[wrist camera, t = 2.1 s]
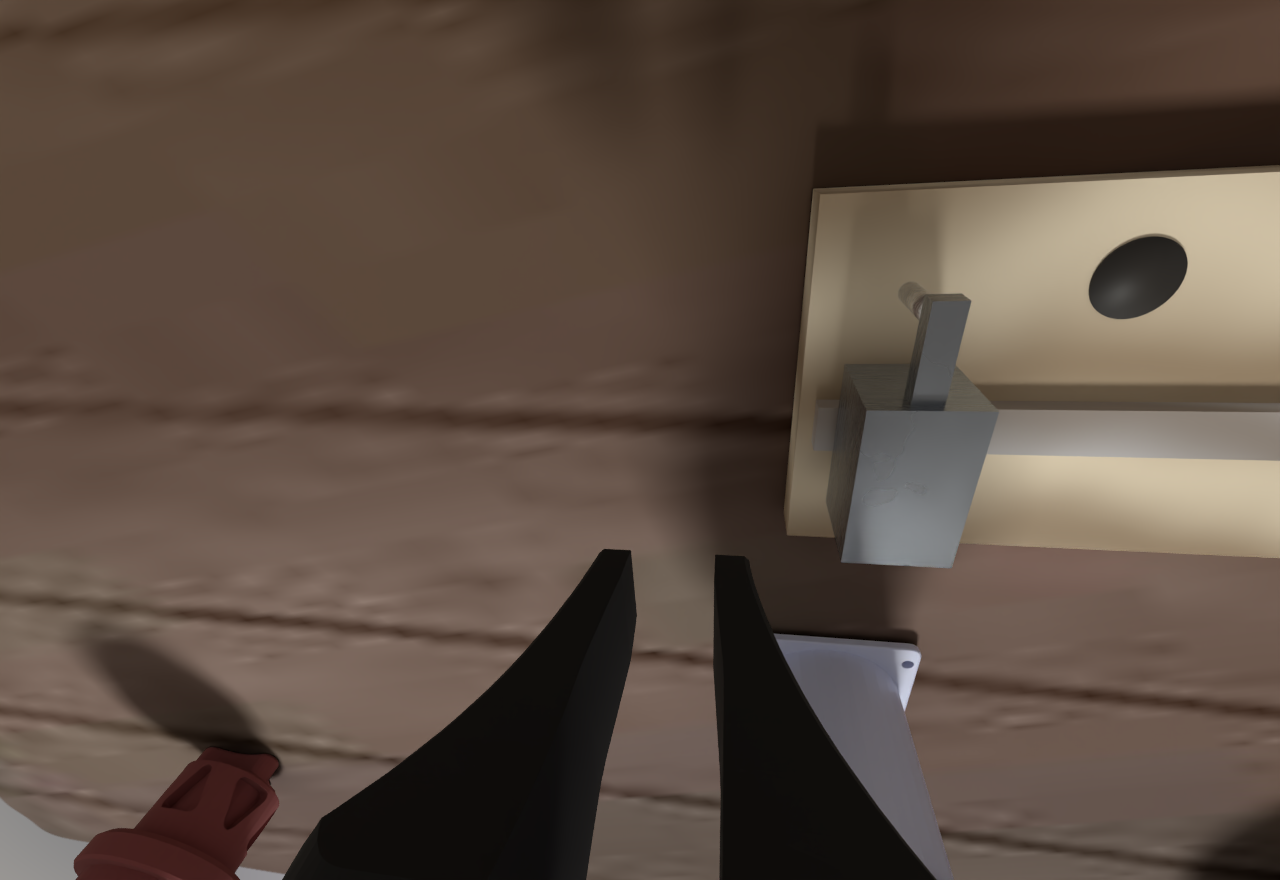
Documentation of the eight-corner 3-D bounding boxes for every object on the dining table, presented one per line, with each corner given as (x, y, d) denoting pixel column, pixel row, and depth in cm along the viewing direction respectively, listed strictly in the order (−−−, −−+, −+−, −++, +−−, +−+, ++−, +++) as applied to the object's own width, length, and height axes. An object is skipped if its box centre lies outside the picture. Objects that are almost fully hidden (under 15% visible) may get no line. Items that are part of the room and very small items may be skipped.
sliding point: (915, 495, 18) (951, 568, 15) (823, 492, 19) (841, 562, 16) (970, 266, 14) (1032, 303, 11) (853, 269, 15) (884, 306, 12)
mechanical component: (161, 739, 41) (234, 712, 37) (263, 807, 44) (339, 789, 41) (-37, 953, 30) (38, 945, 27) (118, 1019, 34) (203, 1021, 30)
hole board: (1476, 538, 18) (1707, 667, 14) (783, 511, 22) (797, 607, 18) (1850, 135, 12) (2457, 143, 8) (813, 188, 16) (843, 213, 12)
